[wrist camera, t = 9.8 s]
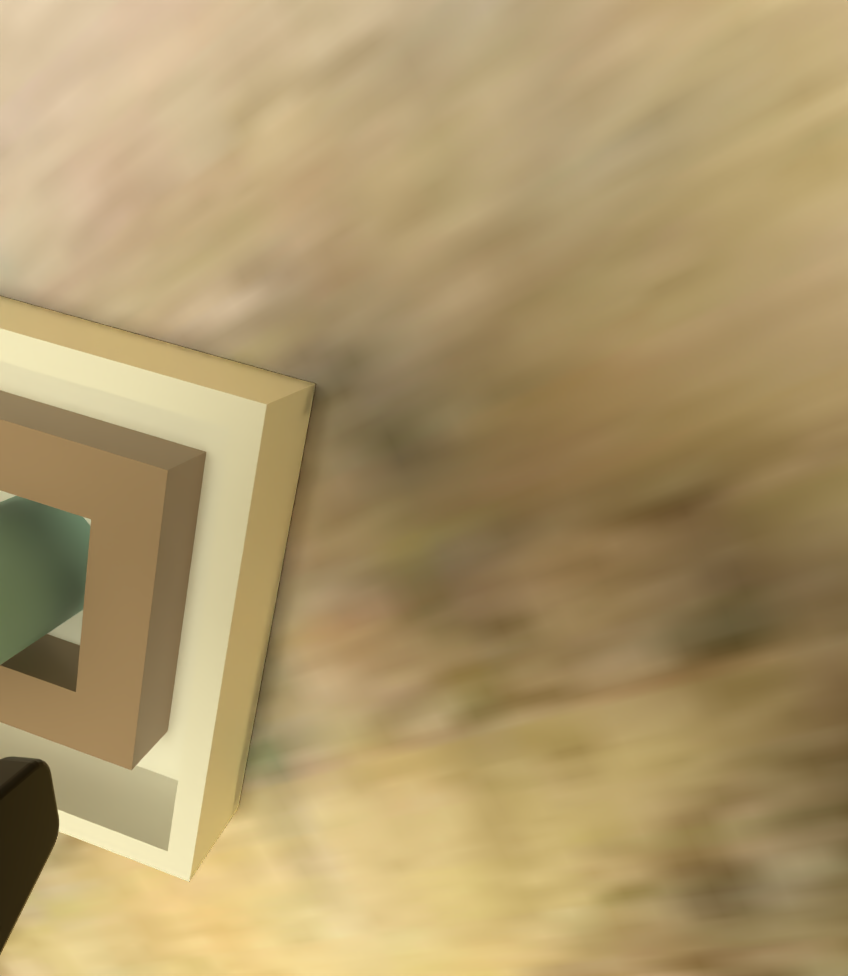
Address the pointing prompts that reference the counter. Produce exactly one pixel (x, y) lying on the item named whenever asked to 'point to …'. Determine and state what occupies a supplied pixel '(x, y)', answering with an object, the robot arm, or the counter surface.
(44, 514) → the pale green peg
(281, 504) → the tray box
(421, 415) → the counter surface
